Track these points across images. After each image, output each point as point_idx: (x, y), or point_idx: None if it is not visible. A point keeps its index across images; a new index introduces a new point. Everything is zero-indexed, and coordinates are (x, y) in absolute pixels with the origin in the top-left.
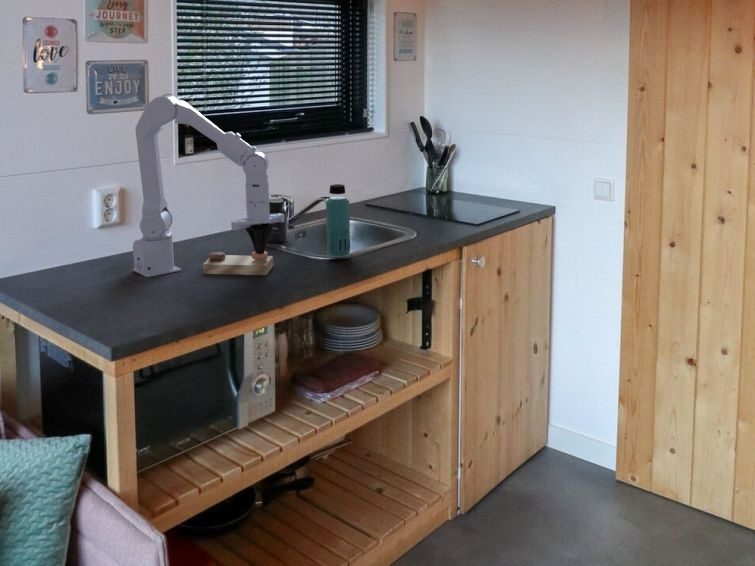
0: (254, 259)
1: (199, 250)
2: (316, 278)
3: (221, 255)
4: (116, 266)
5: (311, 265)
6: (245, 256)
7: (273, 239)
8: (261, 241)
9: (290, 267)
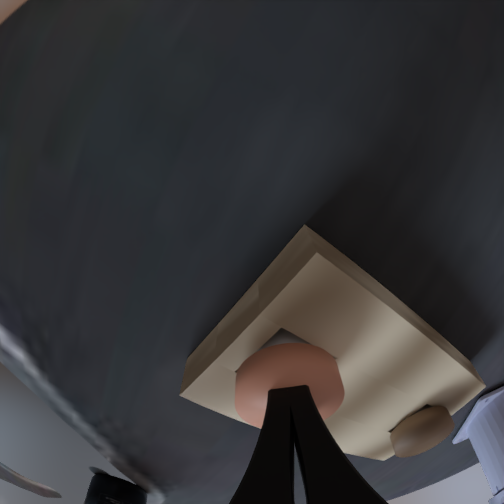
0: None
1: None
2: (68, 24)
3: (432, 424)
4: None
5: (24, 269)
6: None
7: (125, 489)
8: (312, 465)
9: (115, 293)
